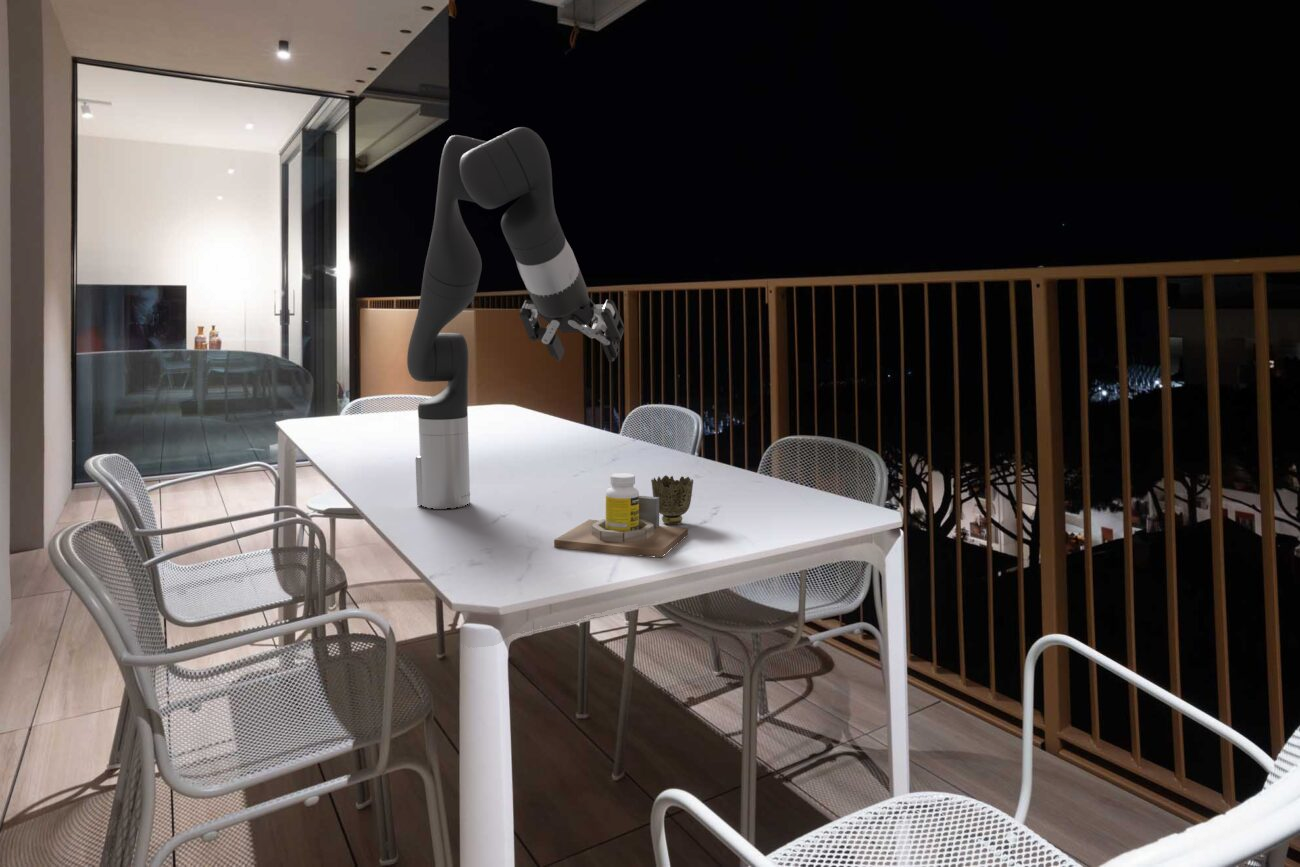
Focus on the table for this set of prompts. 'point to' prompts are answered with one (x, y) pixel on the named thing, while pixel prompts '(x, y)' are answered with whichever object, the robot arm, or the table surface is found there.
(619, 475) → the supplement bottle
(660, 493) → the cup
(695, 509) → the table surface
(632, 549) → the socket board
